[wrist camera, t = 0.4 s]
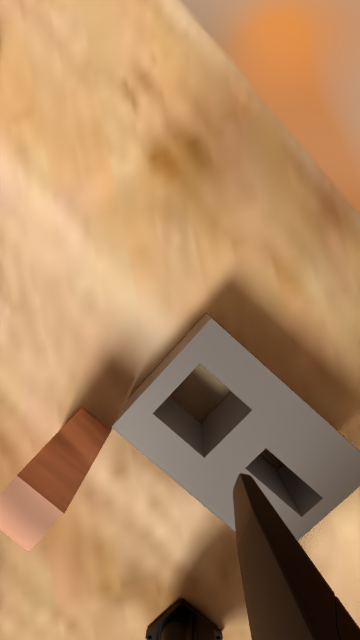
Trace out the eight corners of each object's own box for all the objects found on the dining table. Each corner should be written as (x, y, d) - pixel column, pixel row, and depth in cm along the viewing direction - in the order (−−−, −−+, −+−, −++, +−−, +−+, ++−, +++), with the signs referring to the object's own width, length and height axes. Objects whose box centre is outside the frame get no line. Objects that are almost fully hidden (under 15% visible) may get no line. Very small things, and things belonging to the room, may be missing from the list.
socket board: (254, 508, 24) (272, 563, 19) (127, 399, 23) (111, 427, 18) (337, 431, 23) (379, 469, 18) (206, 312, 22) (211, 318, 17)
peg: (87, 457, 24) (28, 551, 15) (58, 433, 24) (-18, 514, 15) (110, 431, 24) (64, 513, 15) (81, 407, 24) (16, 475, 15)
